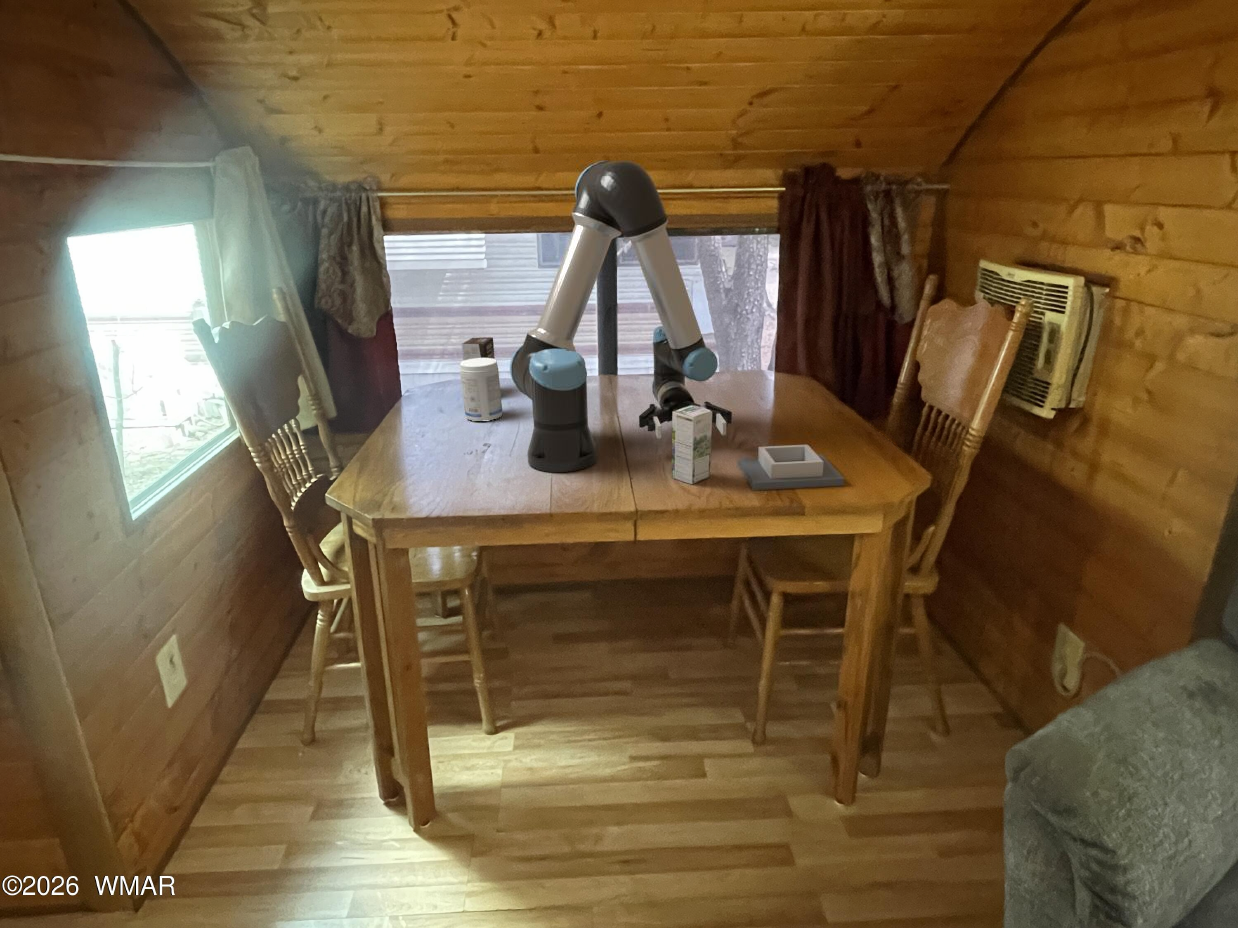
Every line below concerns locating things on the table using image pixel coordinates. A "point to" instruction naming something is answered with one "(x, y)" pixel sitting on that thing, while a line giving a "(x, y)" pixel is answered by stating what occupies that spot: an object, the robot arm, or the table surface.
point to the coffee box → (478, 348)
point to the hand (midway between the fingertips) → (692, 430)
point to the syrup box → (691, 444)
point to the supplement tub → (481, 389)
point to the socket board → (789, 468)
